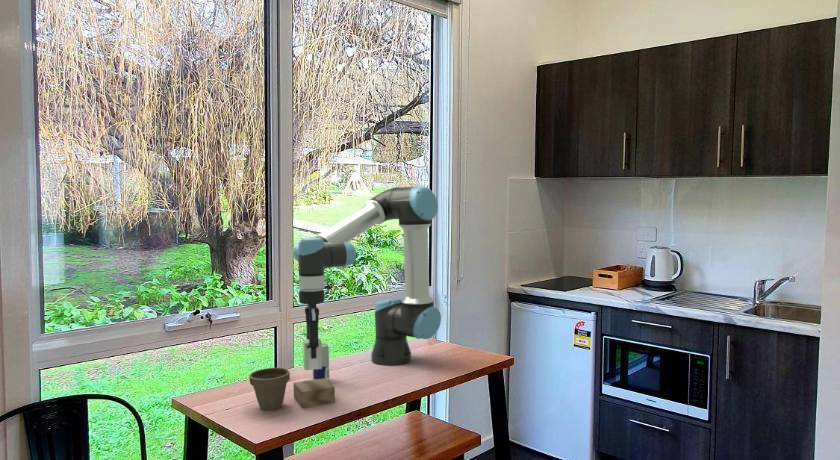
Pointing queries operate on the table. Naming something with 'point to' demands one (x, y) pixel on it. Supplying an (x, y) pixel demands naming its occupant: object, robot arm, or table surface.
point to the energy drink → (323, 365)
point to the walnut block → (314, 392)
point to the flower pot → (270, 386)
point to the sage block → (306, 354)
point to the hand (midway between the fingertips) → (312, 366)
